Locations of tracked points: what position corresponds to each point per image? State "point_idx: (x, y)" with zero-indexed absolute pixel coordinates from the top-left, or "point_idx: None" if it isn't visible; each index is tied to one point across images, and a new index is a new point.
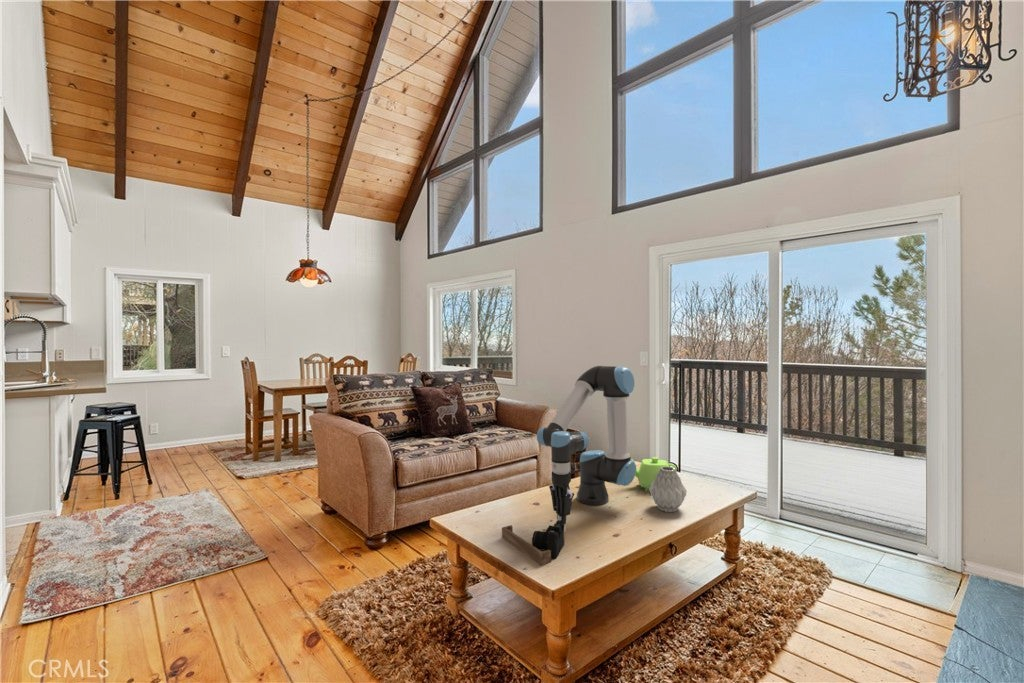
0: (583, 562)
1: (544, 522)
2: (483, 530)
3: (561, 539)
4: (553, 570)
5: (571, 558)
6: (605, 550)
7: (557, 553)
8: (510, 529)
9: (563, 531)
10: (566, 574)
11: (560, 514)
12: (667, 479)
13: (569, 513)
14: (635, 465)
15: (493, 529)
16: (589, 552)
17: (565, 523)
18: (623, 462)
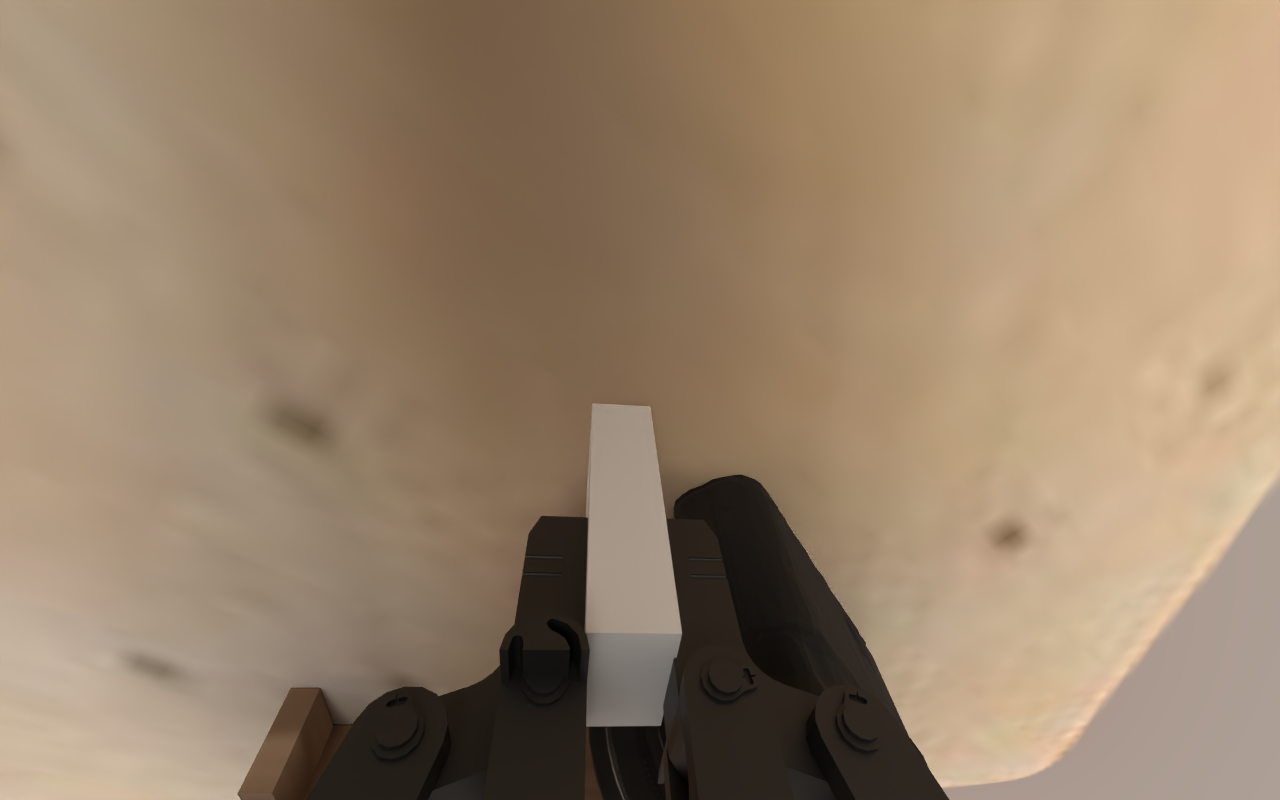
0: (1092, 554)
1: (18, 269)
2: (108, 770)
3: (846, 642)
4: (941, 717)
5: (970, 579)
6: (1260, 233)
7: (871, 656)
8: (291, 772)
9: (828, 639)
10: (1039, 695)
11: (669, 761)
12: None
13: (903, 753)
14: None
15: (107, 727)
16: (1080, 408)
17: (705, 533)
18: None
